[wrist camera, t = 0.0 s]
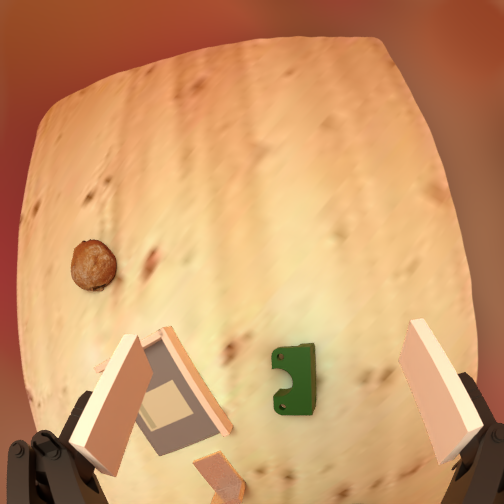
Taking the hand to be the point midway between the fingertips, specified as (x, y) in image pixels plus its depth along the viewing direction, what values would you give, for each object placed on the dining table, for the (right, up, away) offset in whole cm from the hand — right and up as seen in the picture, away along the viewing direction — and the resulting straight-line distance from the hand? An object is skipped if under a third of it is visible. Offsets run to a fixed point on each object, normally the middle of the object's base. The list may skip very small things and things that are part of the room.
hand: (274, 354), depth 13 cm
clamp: (+6, -16, +33) cm, 38 cm away
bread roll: (-32, +2, +40) cm, 52 cm away
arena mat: (-17, -22, +34) cm, 44 cm away
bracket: (-7, -37, +30) cm, 48 cm away
